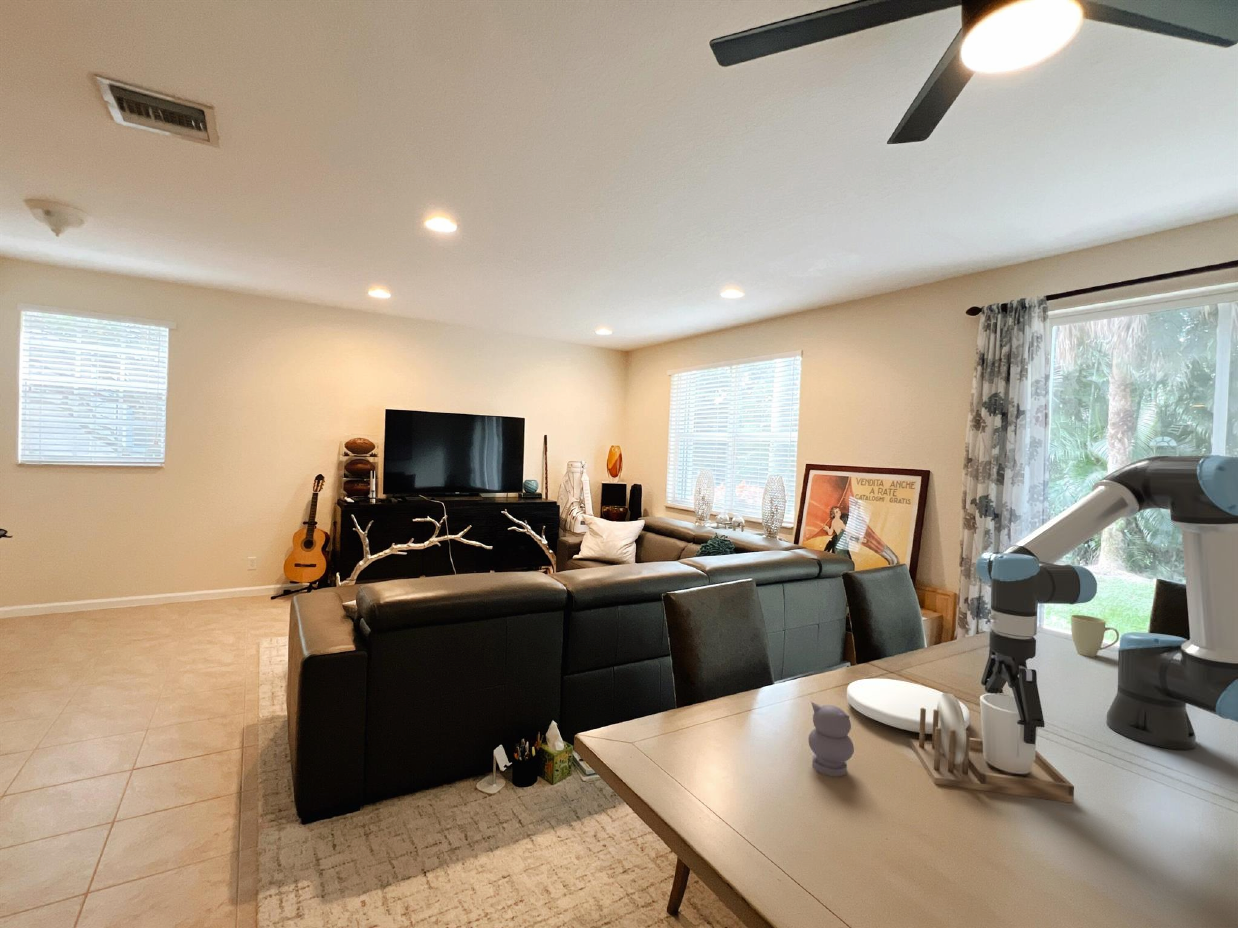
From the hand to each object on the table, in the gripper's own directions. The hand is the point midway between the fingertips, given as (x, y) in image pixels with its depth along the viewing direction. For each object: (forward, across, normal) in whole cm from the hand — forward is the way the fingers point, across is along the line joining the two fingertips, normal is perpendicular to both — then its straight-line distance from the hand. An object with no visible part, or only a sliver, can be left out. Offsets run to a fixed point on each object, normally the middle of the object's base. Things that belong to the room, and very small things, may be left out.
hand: (1008, 741), depth 112 cm
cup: (+5, 0, 0) cm, 5 cm away
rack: (+6, 0, -4) cm, 8 cm away
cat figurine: (+6, +7, -34) cm, 36 cm away
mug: (+7, -92, +64) cm, 112 cm away
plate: (+7, -23, -12) cm, 27 cm away
